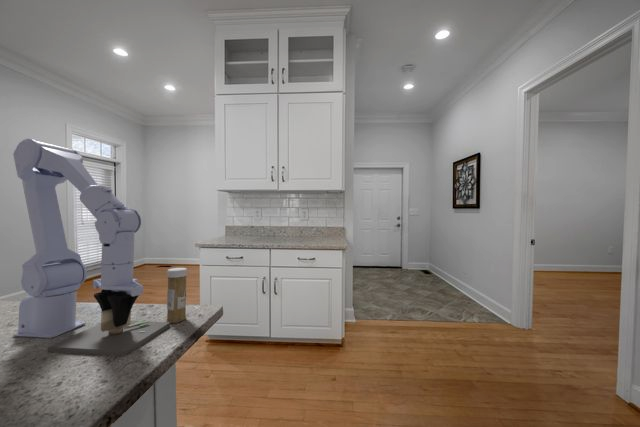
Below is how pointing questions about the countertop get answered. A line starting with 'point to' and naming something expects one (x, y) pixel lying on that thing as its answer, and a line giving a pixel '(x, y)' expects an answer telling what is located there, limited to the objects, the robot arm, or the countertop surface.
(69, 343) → the dial board
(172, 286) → the sprinkles bottle
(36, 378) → the countertop surface
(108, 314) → the peg
